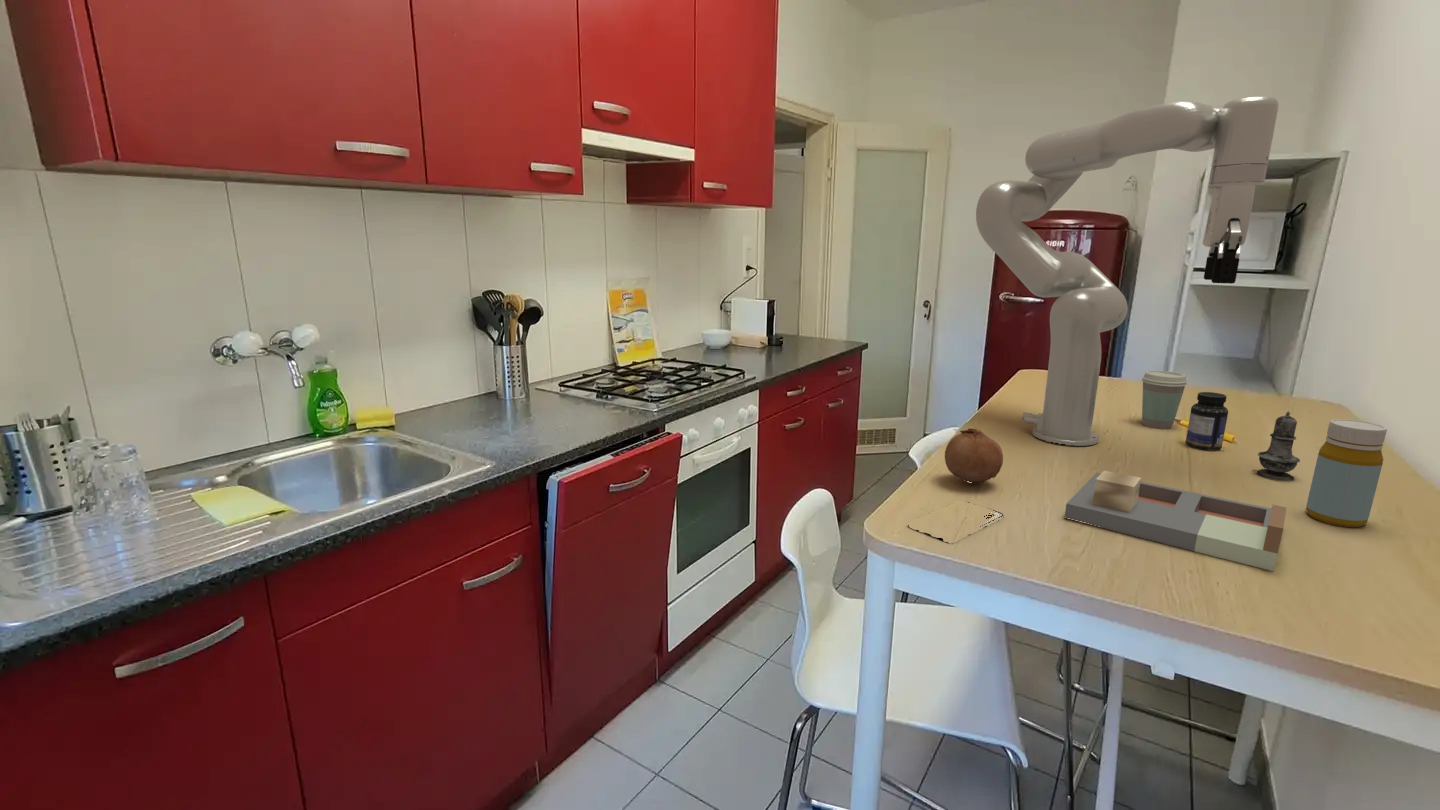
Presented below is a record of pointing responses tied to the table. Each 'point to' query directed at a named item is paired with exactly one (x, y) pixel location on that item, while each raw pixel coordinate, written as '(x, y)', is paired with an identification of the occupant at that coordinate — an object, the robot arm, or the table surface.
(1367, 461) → the bottle
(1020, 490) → the table surface
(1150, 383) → the coffee cup
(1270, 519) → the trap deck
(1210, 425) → the pill bottle
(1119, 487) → the maple block
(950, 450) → the onion
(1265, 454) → the salt shaker
